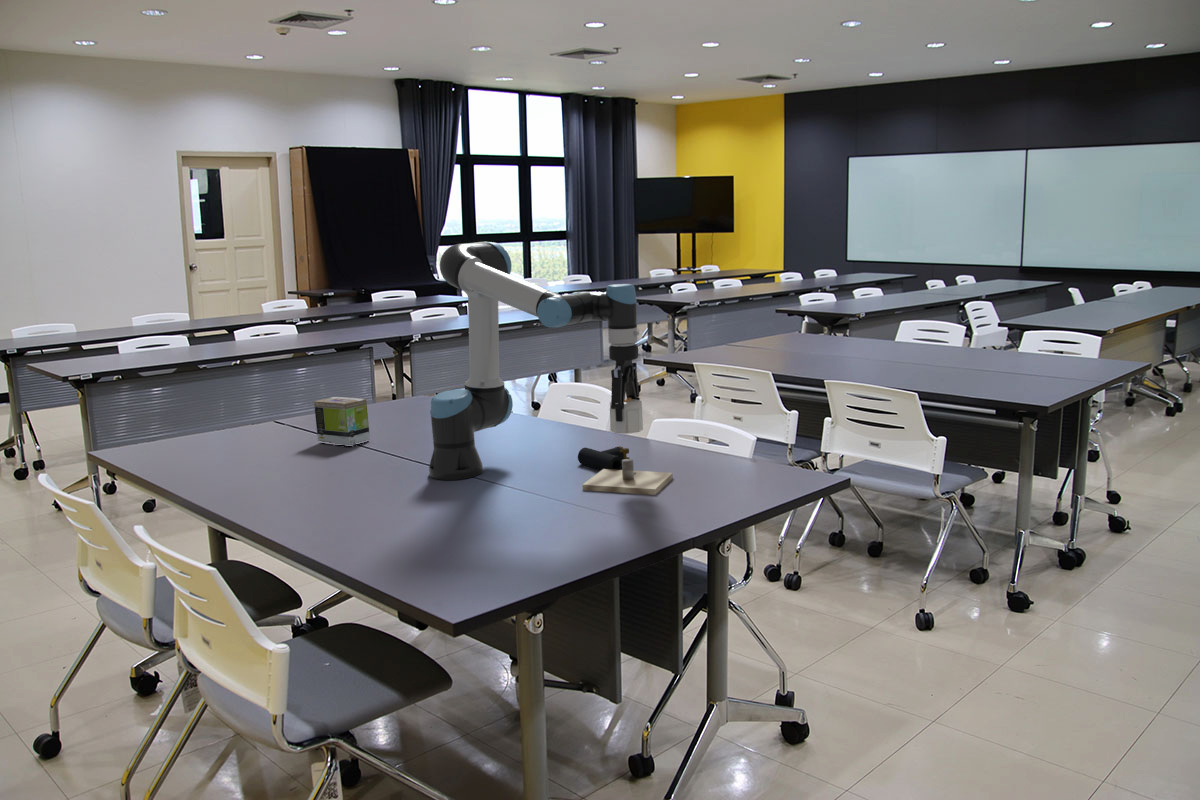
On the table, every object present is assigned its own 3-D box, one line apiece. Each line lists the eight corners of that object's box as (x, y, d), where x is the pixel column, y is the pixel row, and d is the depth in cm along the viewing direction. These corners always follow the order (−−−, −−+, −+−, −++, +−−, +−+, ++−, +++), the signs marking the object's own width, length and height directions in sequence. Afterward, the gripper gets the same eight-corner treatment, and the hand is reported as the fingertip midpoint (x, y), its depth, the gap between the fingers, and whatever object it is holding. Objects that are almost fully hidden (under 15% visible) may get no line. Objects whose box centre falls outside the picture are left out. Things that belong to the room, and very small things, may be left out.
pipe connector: (608, 441, 283) (640, 449, 271) (609, 458, 284) (641, 467, 272) (577, 448, 276) (609, 457, 264) (578, 466, 277) (610, 476, 265)
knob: (636, 434, 247) (635, 403, 245) (606, 433, 250) (605, 403, 248) (646, 427, 255) (645, 397, 253) (617, 426, 257) (615, 396, 256)
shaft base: (582, 490, 251) (581, 466, 250) (603, 474, 266) (602, 451, 265) (655, 494, 244) (654, 470, 243) (672, 478, 259) (672, 454, 258)
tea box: (371, 441, 318) (367, 398, 315) (348, 448, 310) (344, 403, 307) (339, 437, 326) (335, 395, 323) (316, 444, 318) (312, 400, 315)
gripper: (623, 350, 237) (627, 439, 241) (649, 338, 256) (652, 421, 261) (595, 349, 239) (599, 437, 244) (622, 338, 259) (626, 420, 263)
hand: (626, 429), depth 252 cm, fingers closed on knob, 8 cm apart
